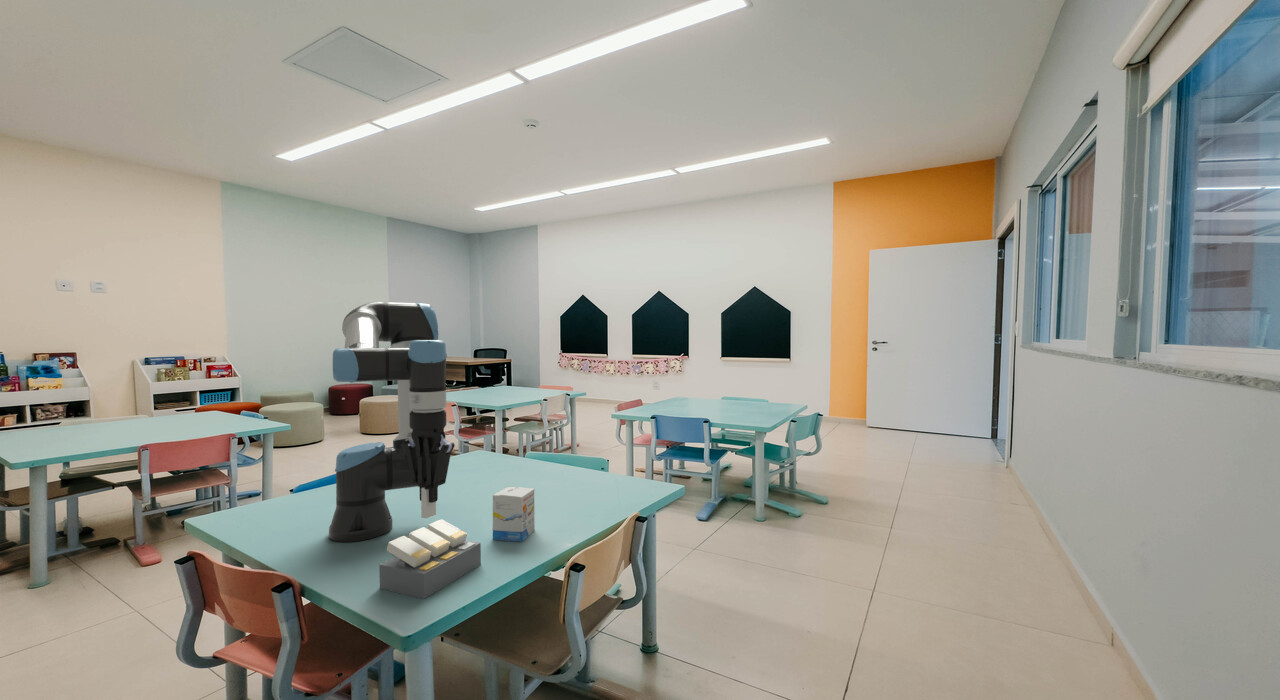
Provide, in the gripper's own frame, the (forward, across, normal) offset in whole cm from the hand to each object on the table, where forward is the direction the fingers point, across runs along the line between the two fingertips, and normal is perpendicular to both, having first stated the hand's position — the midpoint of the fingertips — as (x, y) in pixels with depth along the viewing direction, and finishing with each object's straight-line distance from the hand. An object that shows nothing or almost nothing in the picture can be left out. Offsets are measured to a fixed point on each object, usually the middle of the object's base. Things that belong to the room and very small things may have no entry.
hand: (428, 515), depth 113 cm
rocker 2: (+5, +1, -1) cm, 5 cm away
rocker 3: (+5, +1, +5) cm, 7 cm away
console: (+13, +2, -1) cm, 13 cm away
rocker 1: (+5, +1, -6) cm, 8 cm away
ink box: (+13, +4, +26) cm, 29 cm away
